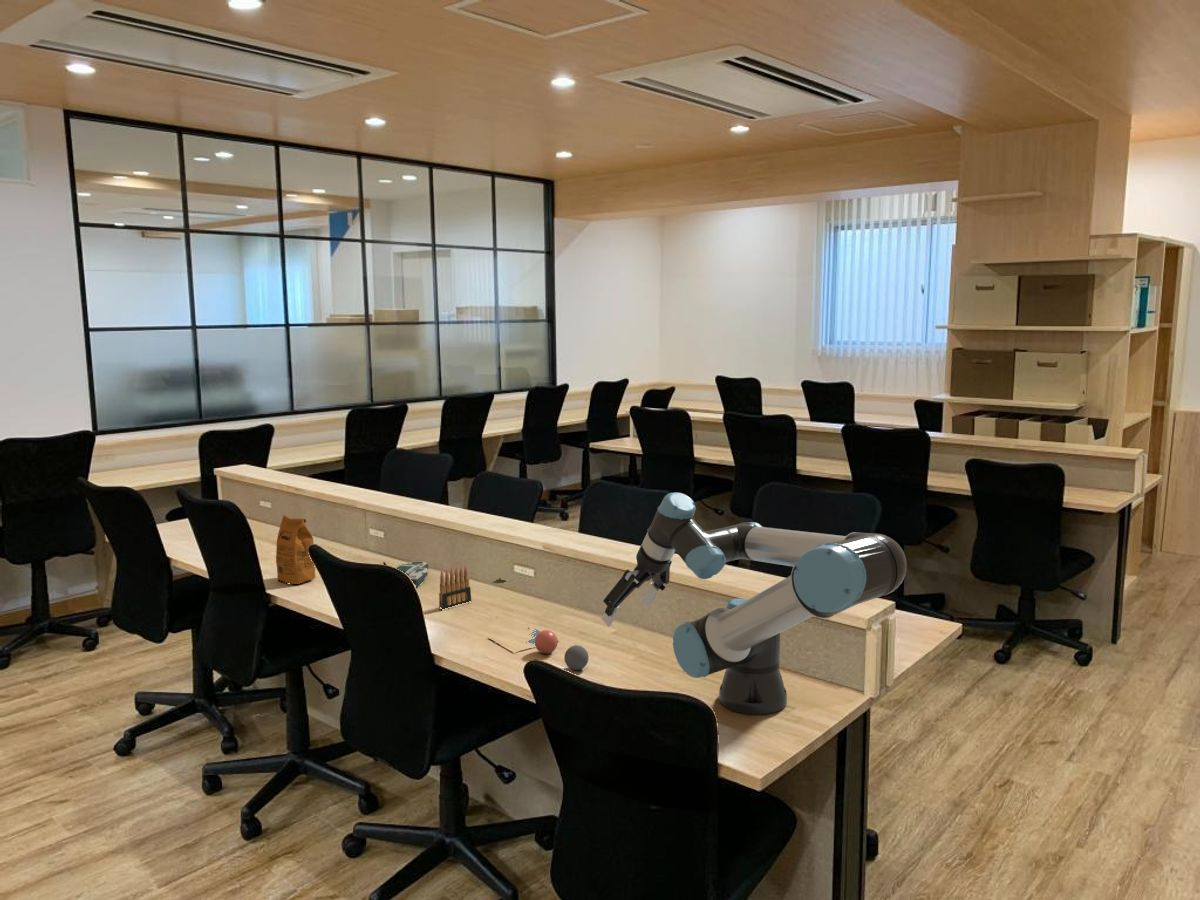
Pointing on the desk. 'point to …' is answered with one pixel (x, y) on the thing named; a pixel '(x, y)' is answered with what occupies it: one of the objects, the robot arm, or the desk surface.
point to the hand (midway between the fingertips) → (626, 613)
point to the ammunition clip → (454, 588)
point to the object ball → (546, 641)
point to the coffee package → (294, 552)
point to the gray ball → (576, 657)
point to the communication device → (414, 571)
